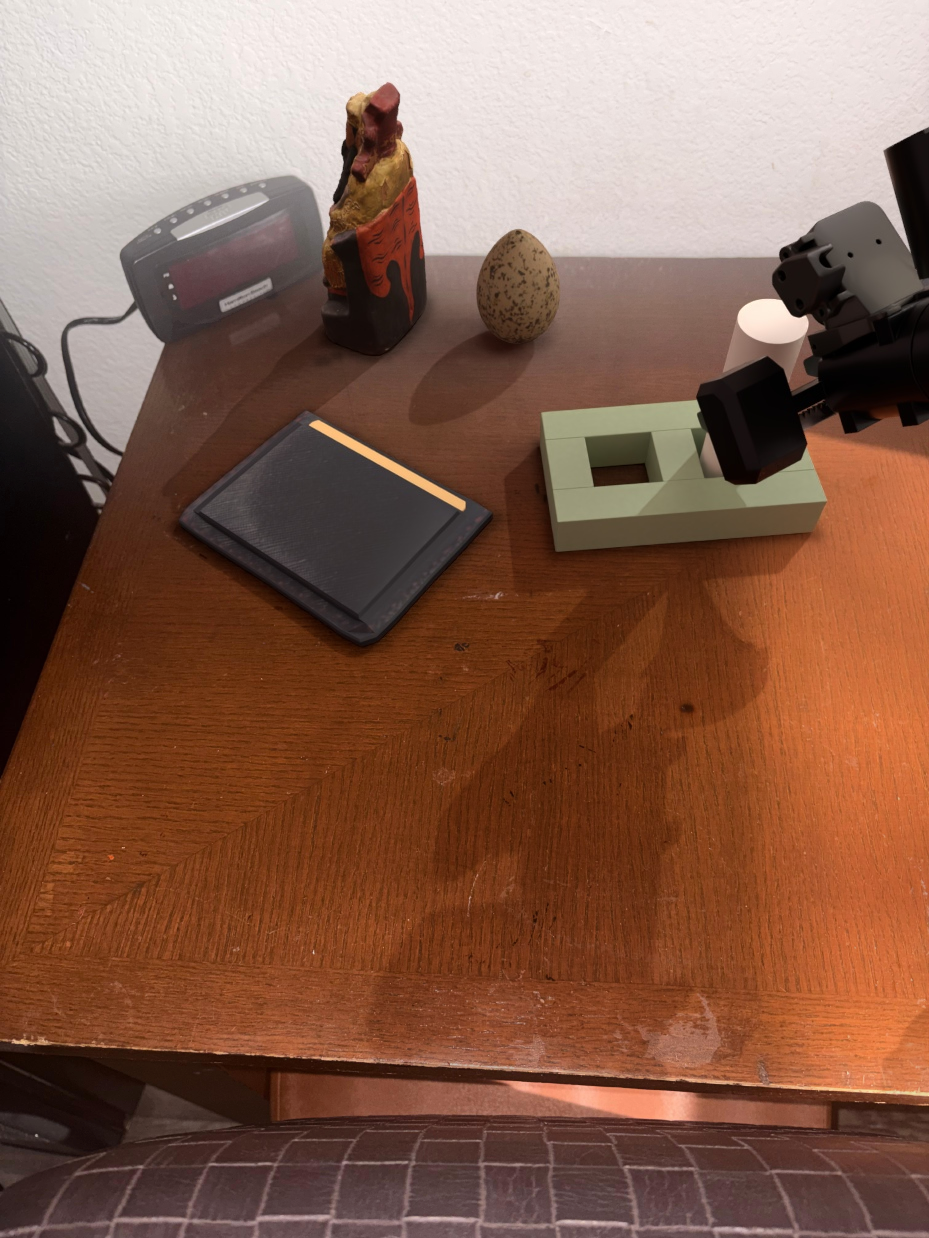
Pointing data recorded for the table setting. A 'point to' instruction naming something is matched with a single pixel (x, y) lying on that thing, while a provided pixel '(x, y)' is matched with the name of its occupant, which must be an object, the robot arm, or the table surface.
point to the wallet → (335, 526)
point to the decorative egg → (518, 288)
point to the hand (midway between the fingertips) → (754, 393)
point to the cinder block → (660, 482)
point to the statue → (374, 232)
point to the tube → (759, 351)
